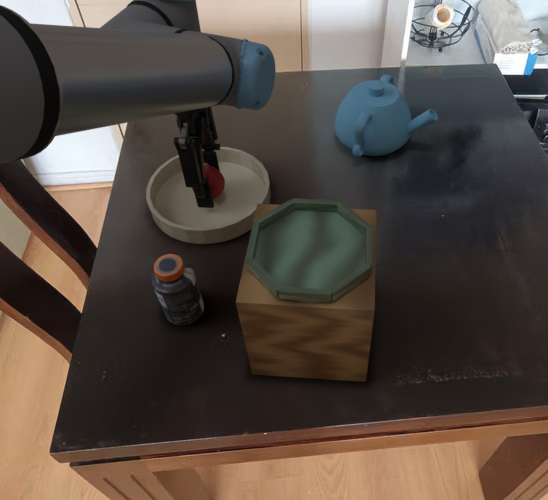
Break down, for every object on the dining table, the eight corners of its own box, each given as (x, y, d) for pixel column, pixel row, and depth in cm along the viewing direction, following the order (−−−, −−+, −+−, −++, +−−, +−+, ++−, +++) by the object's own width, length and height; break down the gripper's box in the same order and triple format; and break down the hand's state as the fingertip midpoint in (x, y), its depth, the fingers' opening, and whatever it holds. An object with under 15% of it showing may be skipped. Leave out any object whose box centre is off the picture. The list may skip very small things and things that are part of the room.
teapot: (353, 103, 117) (355, 49, 107) (442, 125, 112) (453, 70, 103) (318, 159, 105) (317, 104, 95) (417, 185, 101) (427, 130, 91)
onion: (218, 213, 95) (211, 179, 89) (189, 205, 96) (180, 171, 90) (232, 191, 99) (226, 157, 92) (204, 184, 100) (196, 150, 94)
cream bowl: (136, 240, 91) (130, 226, 88) (169, 157, 105) (164, 143, 102) (261, 247, 90) (259, 233, 88) (277, 163, 104) (276, 149, 101)
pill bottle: (210, 297, 84) (196, 251, 75) (196, 329, 80) (181, 284, 71) (173, 291, 84) (156, 244, 76) (159, 323, 81) (138, 277, 72)
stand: (252, 374, 75) (233, 292, 60) (268, 283, 86) (255, 193, 70) (365, 382, 75) (376, 301, 60) (368, 289, 85) (377, 199, 70)
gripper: (194, 119, 72) (220, 233, 90) (221, 46, 85) (240, 159, 102) (139, 116, 73) (176, 230, 90) (174, 44, 85) (201, 157, 103)
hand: (210, 192), depth 96 cm, fingers closed on onion, 6 cm apart
